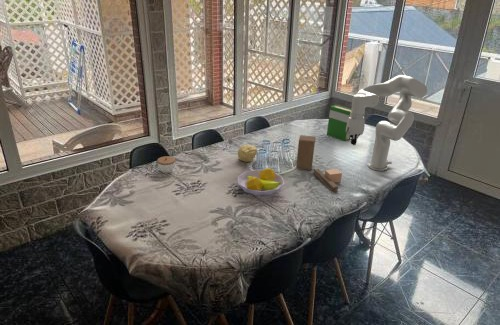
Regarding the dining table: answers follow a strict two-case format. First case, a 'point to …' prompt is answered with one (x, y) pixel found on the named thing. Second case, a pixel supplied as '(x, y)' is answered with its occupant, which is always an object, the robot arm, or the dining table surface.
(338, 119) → the hardback book
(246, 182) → the fruit bowl
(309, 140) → the wooden block
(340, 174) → the block
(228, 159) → the dining table surface
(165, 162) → the lidded jar
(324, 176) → the brown wooden bar
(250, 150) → the pale yellow lumpy ball
